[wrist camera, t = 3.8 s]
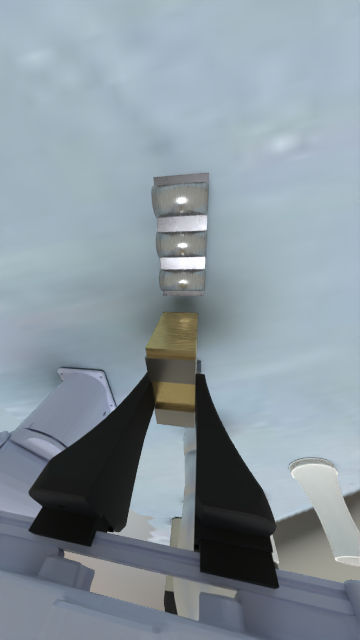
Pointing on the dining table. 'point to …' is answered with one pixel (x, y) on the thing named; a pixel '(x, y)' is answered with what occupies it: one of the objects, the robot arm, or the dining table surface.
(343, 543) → the vase
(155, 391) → the gold block
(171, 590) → the travel mug
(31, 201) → the dining table surface
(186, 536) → the plastic bottle
